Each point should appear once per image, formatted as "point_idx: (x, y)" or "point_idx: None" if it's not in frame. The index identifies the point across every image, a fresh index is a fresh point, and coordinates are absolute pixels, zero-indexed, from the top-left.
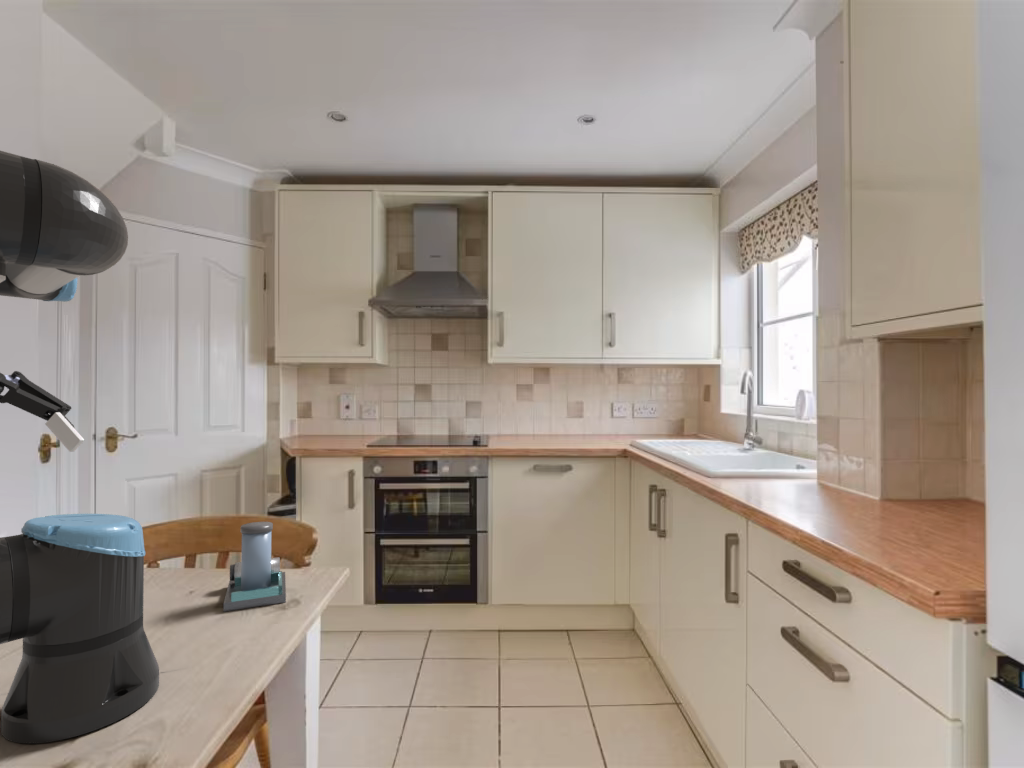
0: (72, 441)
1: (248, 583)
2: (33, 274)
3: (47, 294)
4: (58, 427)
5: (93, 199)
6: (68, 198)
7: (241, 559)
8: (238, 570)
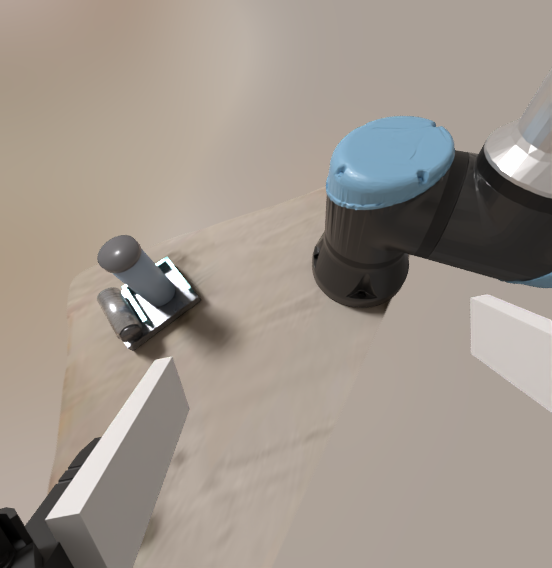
0: (173, 392)
1: (169, 283)
2: None
3: None
4: (141, 471)
5: None
6: None
7: (151, 283)
8: (134, 319)
